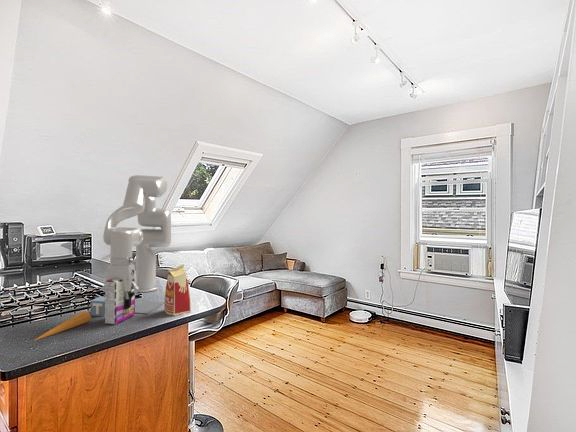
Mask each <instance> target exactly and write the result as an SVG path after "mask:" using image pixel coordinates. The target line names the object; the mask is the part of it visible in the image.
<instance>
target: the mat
mask: <svg viewBox="0 0 576 432" xmlns="http://www.w3.org/2000/svg"><path fill="white" fill-rule="evenodd" d="M161 306H164V301H149V300H143V301H141V302H139V303H137V304H135V314H140V315H149V314H150V313H151V312H153V311H155V310H156V309H158V308H159V307H161Z"/></svg>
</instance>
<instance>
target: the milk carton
mask: <svg viewBox="0 0 576 432" xmlns="http://www.w3.org/2000/svg"><path fill="white" fill-rule="evenodd" d="M184 266H185V264H184V263H183V264H181V265H178V266H176V267H173V268H170V269H168V270H167V271H168V273H167V278H166V283H165V284H166V285H165V294H164V301H163V302H164V304H163V308H164V309H163V310H164V312H165V313H166V315H169V316H180V315H183V314H184V313H185V314H189V313H188V312H190V313H191V312H192V310H191V308H192V306H191V300H192V299H191V291H190V285H189V280H188V277H187V273H186V269H185V267H184ZM179 314H180V315H179ZM185 314H184V315H185Z"/></svg>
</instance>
